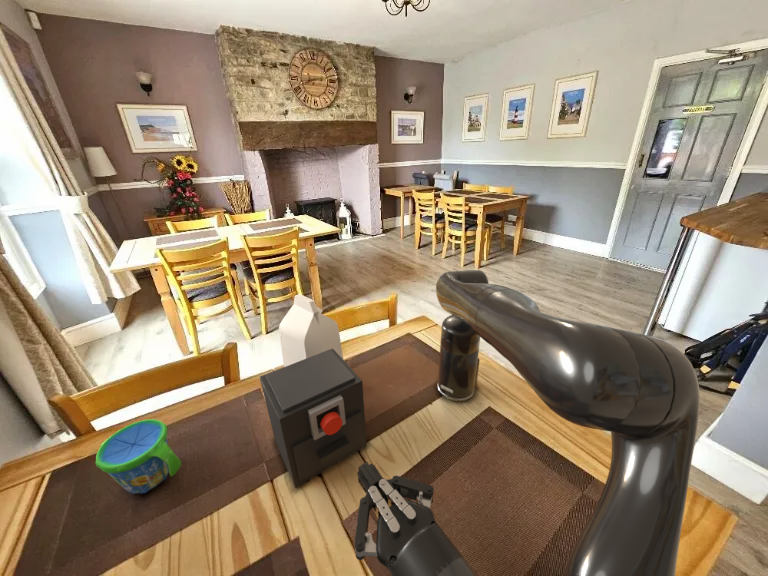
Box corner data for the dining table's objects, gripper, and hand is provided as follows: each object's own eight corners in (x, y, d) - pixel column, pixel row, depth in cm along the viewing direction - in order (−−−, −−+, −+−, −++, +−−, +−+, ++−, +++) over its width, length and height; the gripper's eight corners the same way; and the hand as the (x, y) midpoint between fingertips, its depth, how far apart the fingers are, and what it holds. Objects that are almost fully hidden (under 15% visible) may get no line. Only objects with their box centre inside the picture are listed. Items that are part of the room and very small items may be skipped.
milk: (286, 384, 85) (269, 299, 74) (319, 363, 93) (308, 284, 82) (313, 405, 78) (298, 315, 67) (346, 380, 86) (338, 296, 75)
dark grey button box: (339, 408, 77) (332, 345, 69) (373, 454, 65) (369, 385, 57) (274, 440, 69) (258, 374, 61) (300, 500, 57) (283, 427, 49)
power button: (339, 422, 58) (337, 408, 56) (343, 428, 56) (341, 414, 55) (321, 432, 56) (319, 417, 54) (325, 438, 55) (323, 423, 53)
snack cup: (202, 463, 64) (188, 428, 60) (154, 516, 55) (134, 479, 51) (147, 444, 69) (130, 410, 64) (94, 491, 59) (70, 455, 55)
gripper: (487, 531, 36) (397, 428, 49) (394, 622, 29) (319, 476, 42) (480, 565, 39) (397, 461, 52) (394, 655, 32) (324, 509, 45)
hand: (362, 468), depth 47 cm, fingers closed
